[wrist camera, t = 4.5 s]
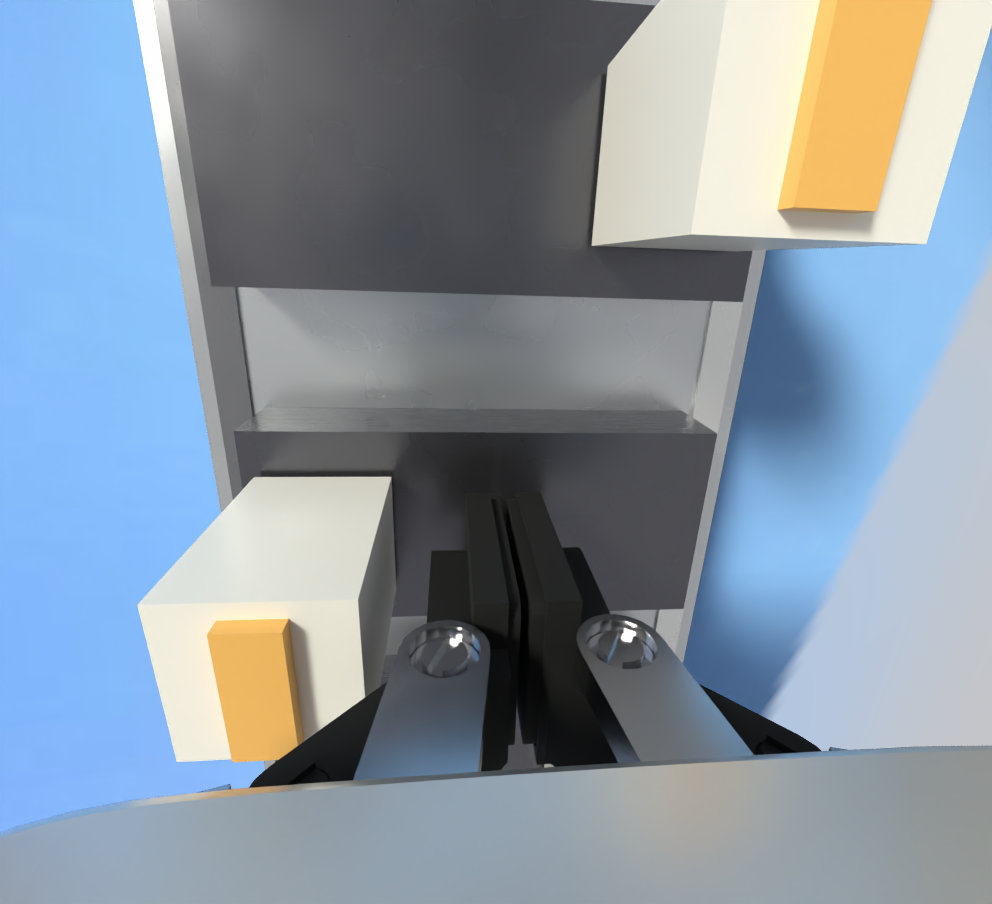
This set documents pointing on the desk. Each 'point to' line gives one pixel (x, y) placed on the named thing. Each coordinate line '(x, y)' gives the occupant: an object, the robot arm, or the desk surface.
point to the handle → (785, 122)
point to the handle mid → (274, 616)
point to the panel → (443, 281)
